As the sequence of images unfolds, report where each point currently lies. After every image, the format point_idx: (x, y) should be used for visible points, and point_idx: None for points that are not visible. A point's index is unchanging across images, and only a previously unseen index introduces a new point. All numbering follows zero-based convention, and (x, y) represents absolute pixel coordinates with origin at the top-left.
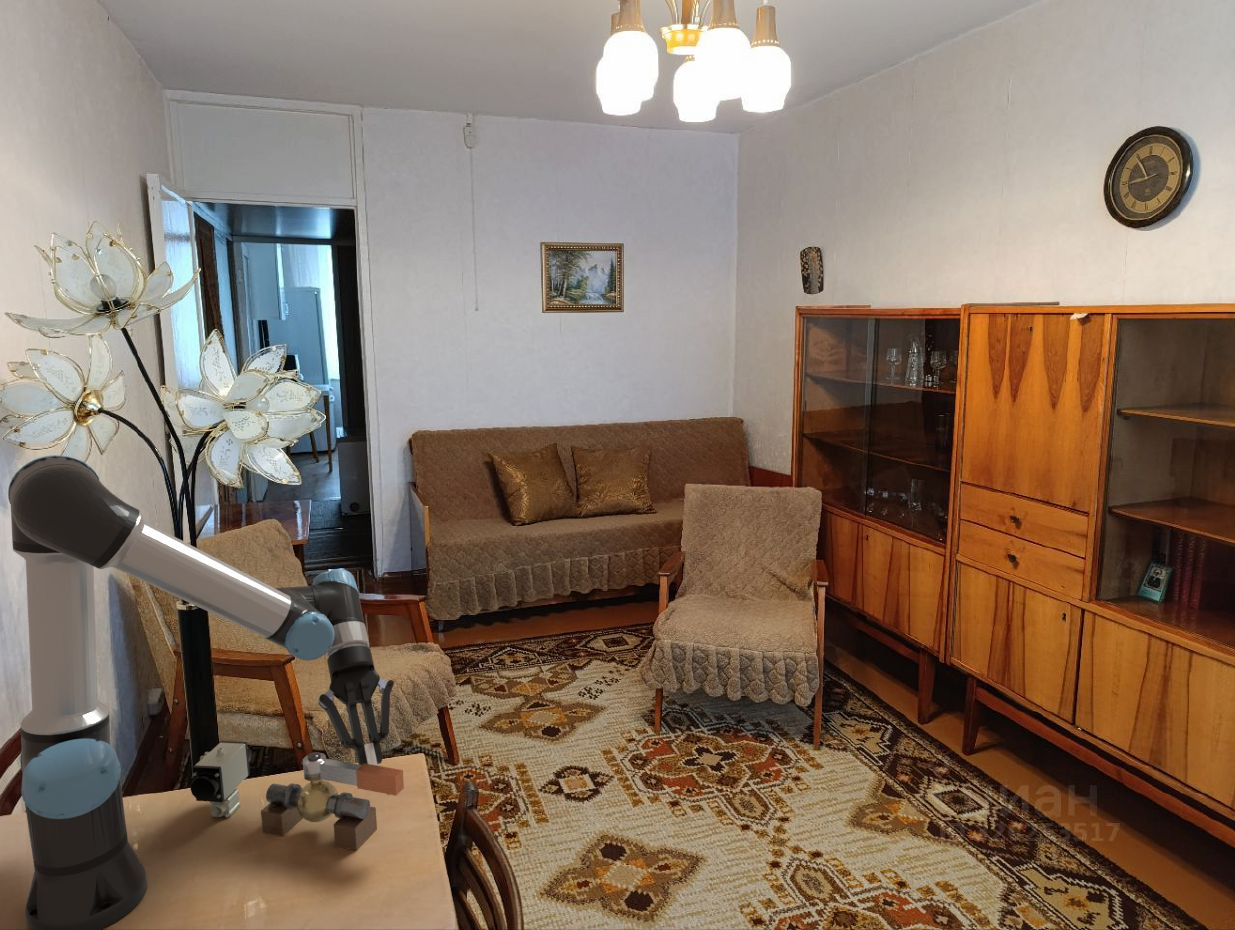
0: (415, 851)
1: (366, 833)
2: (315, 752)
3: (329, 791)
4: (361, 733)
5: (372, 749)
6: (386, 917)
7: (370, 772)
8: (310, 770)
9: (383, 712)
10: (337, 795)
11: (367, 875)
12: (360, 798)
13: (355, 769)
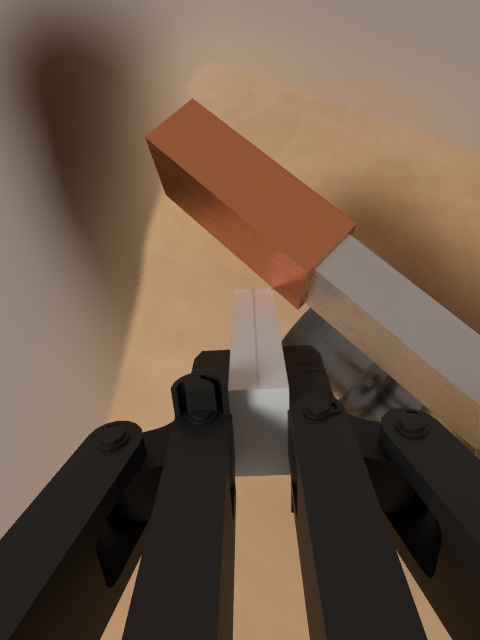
0: (189, 254)
1: None
2: None
3: (434, 417)
4: (302, 458)
5: (240, 366)
6: (293, 94)
7: (290, 173)
8: None
9: (11, 612)
10: (397, 403)
11: None
12: (312, 346)
13: (357, 247)
